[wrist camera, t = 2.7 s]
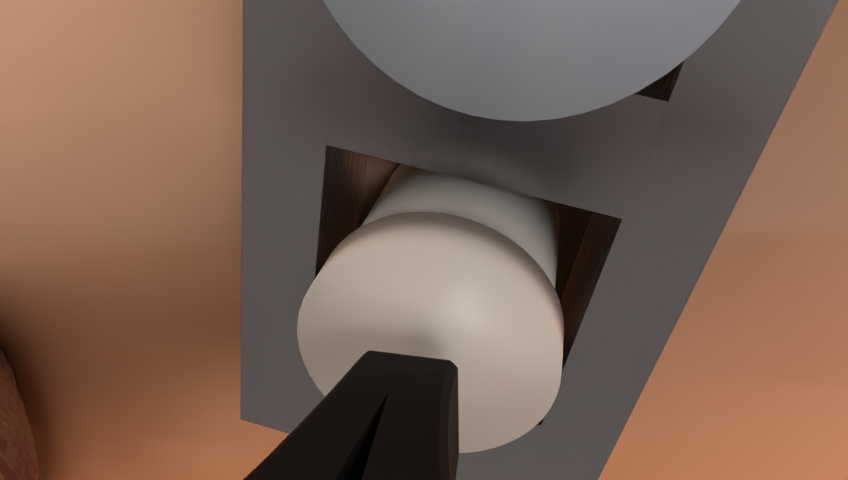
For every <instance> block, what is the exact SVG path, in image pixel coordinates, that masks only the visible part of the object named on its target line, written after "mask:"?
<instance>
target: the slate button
mask: <svg viewBox="0 0 848 480" xmlns="http://www.w3.org/2000/svg"><path fill="white" fill-rule="evenodd" d="M323 1H324V3H325V5H326V6H327V8H328V9H329V11H330V13H331V14H332V16H333V17H334V19H335V21H336V22H337V23H338V25H339V26H340V27H341V28H342V30H343V31H344V32H345V33H346V35H347V36H348V37H349V38H350V40H351V41H352V42H353V43H354V45H355V46H356V47H357V48H358V49H359V50H360V51H361V52H362V53H363V54H364V55H365V56H366V57H367V58H368V59H369V60H370V61H371V62H372V63H373V64H374V65H376V66H377V67H378V68H379V69H381V70H382V71H383V72H385V73H386V74H387V75H388V76H390V77H391V78H392V79H393V80H395V81H396V82H398V83H399V84H401V85H402V86H404V87H406V88H407V89H409V90H411V91H412V92H414V93H416V94H417V95H419V96H421V97H423V98H425V99H428V100H430V101H432V102H434V103H436V104H439V105H441V106H443V107H446V108H449V109H452V110H455V111H459V112H462V113H465V114H468V115H472V116H478V117H483V118H489V119H495V120H508V121H537V120H551V119H558V118H563V117H568V116H573V115H578V114H582V113H586V112H589V111H592V110H595V109H598V108H601V107H604V106H607V105H610V104H612V103H614V102H617V101H619V100H621V99H623V98H625V97H627V96H629V95H632V94H634V93H636V92H638V91H640V90H641V89H643V88H645V87H646V86H648V85H650V84H651V83H653V82H655V81H656V80H658V79H659V78H661V77H663V76H664V75H666V74H667V73H668V72H670V71H671V70H672V69H674V68H675V67H676V66H677V65H679V64H680V63H681V62H683V61H684V60H685V59H686V58H688V57H689V56H690V55H691V54H693V53H694V52H695V51H696V50H697V49H698V48H699V47H700V46H701V45H702V44H703V43H704V42H705V41H706V40H707V39H708V38H709V37H710V36H711V35H712V34H713V33H714V32H715V31H716V30H717V29H718V28H719V27H720V25H721V24H722V23H723V22H724V21H725V19H726V18H727V17H728V16H729V14H730V13H731V12H732V11H733V9H734V8H735V7H736V6H737V5H738V3H739V2H740V1H741V0H323Z"/></svg>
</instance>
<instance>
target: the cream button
mask: <svg viewBox="0 0 848 480" xmlns="http://www.w3.org/2000/svg"><path fill="white" fill-rule="evenodd" d="M559 234H560V216H559V211H558V206H557V203H556V202H553V201H549V200H545V199H541V198H537V197H533V196H529V195H525V194H521V193H517V192H513V191H509V190H505V189H501V188H497V187H493V186H489V185H485V184H481V183H477V182H473V181H469V180H465V179H461V178H457V177H453V176H449V175H445V174H441V173H437V172H433V171H429V170H425V169H421V168H417V167H413V166H409V165H405V164H400V165H399V166H398V167H397V169H396V170H395V171H394V172H393V174H392V175H391V177H390V179H389V180H388V182H387V184H386V185H385V187H384V189H383V190H382V192H381V194H380V195H379V197H378V199H377V200H376V202H375V204H374V205H373V207H372V209H371V210H370V212H369V214H368V215H367V217H366V219H365V220H364V222H363V224H362V225H361V227H360V228H358V229H357V230H355V231H353V232H352V233H350V234H349V235H348V236H347V237H346V238H345V239H344V240H342V241H341V242H340V243H339V244H338V246H337V247H336V248H335V249H334V251H333V252H332V253H331V254H330V256H329V258H328V259H327V261H326V262H325V264H324V265H323V267H322V269H321V270H320V272H319V273H318V275H317V277H316V278H315V280H314V281H313V283H312V284H311V286H310V288H309V289H308V291H307V293H306V295H305V297H304V298H303V301H302V304H301V307H300V310H299V315H298V322H297V338H298V344H299V349H300V353H301V356H302V359H303V362H304V364H305V366H306V368H307V371H308V373H309V375H310V376H311V378H312V379H313V381H314V383H315V384H316V386H317V387H318V388H319V390H320V391H321V392H322V393H323V395H324V396H326V395H327V394H328V393H329V392H330V391H331V390H332V389H333V388H334V387H335V385H336V384H337V383H338V382H339V381H340V380H341V379H342V378H343V376H344V375H345V374H346V373H347V372H348V371H349V370H350V369H351V367H352V366H353V365H354V364H355V363H356V362H357V361H358V360H359V358H360V357H361V356H362V355H363V354H365V353H366V352H367V351H369V350H371V351H379V352H388V353H396V354H404V355H412V356H420V357H428V358H436V359H444V360H451V361H452V362H453V363H454V364H455V365H456V366H457V367H458V413H459V453H470V452H477V451H483V450H488V449H492V448H496V447H499V446H501V445H504V444H507V443H509V442H511V441H513V440H515V439H517V438H519V437H521V436H523V435H524V434H525V433H527V432H528V431H530V430H531V429H532V428H534V427H535V426H536V425H537V424H538V423H539V422H540V421H541V420H542V419H543V418H544V416H545V415H546V414H547V412H548V411H549V410H550V408H551V406H552V404H553V402H554V401H555V399H556V397H557V393H558V390H559V387H560V383H561V374H562V359H563V341H564V320H563V313H562V308H561V304H560V301H559V298H558V296H557V293H556V291H555V285H556V272H557V260H558V247H559Z"/></svg>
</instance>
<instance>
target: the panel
mask: <svg viewBox="0 0 848 480" xmlns="http://www.w3.org/2000/svg"><path fill="white" fill-rule="evenodd" d="M837 1H838V0H741V1H740V2H739V3H738V5H737V6H736V7H735V8H734V9H733V11H732V12H731V13H730V14H729V16H728V17H727V18H726V19H725V21H724V22H723V23H722V24H721V25H720V27H719V28H718V29H717V30H716V31H715V32H714V33H713V34H712V35H711V36H710V37H709V38H708V39H707V40H706V41H705V42H704V43H703V44H702V45H701V46H700V47H699V48H698V49H697V50H696V51H695V52H694V53H693V54H691V55H690V56H689V57H688V58H686V59H685V60H684V61H683V62H681V63H680V64H679V65H677V66H676V67H675V68H674V69H672V70H671V71H670V72H668V73H667V74H666V75H664V76H663V77H661V78H659V79H658V80H656V81H655V82H653V83H651V84H650V85H648V86H646V87H645V88H643V89H641V90H640V91H638V92H636V93H634V94H632V95H629V96H627V97H625V98H623V99H621V100H619V101H617V102H614V103H612V104H610V105H607V106H604V107H601V108H598V109H595V110H592V111H589V112H586V113H582V114H578V115H573V116H568V117H563V118H558V119H551V120H537V121H508V120H495V119H489V118H483V117H478V116H472V115H468V114H465V113H462V112H459V111H455V110H452V109H449V108H446V107H443V106H441V105H439V104H436V103H434V102H432V101H430V100H428V99H425V98H423V97H421V96H419V95H417V94H416V93H414V92H412V91H411V90H409V89H407V88H406V87H404V86H402V85H401V84H399V83H398V82H396V81H395V80H393V79H392V78H391V77H390V76H388V75H387V74H386V73H385V72H383V71H382V70H381V69H379V68H378V67H377V66H376V65H374V64H373V63H372V62H371V61H370V60H369V59H368V58H367V57H366V56H365V55H364V54H363V53H362V52H361V51H360V50H359V49H358V48H357V47H356V46H355V45H354V43H353V42H352V41H351V40H350V38H349V37H348V36H347V35H346V33H345V32H344V31H343V30H342V28H341V27H340V26H339V25H338V23H337V22H336V21H335V19H334V17H333V16H332V14H331V13H330V11H329V9H328V8H327V6H326V5H325V3H324V1H323V0H243V118H242V269H241V419H242V420H245V421H249V422H252V423H256V424H259V425H262V426H266V427H269V428H272V429H276V430H279V431H283V432H286V433H289V434H290V433H291V432H292V431H293V430H294V429H295V428H296V427H297V426H298V425H299V424H300V423H301V422H302V421H303V420H304V419H305V418H306V417H307V416H308V415H309V414H310V413H311V411H312V410H313V409H314V408H315V407H316V406H317V405H318V404H319V403H320V402H321V401H322V400H323V399H324V398H325V396H324V395H323V393H322V392H321V391H320V390H319V388H318V387H317V386H316V384H315V383H314V381H313V379H312V378H311V376H310V375H309V373H308V371H307V368H306V366H305V364H304V362H303V359H302V356H301V353H300V349H299V344H298V338H297V322H298V315H299V310H300V307H301V304H302V301H303V298H304V297H305V295H306V293H307V291H308V289H309V288H310V286H311V284H312V283H313V281H314V280H315V278H316V277H317V275H318V273H319V272H320V270H321V269H322V267H323V265H324V264H325V262H326V261H327V259H328V258H329V256H330V254H331V253H332V252H333V251H334V249H335V248H336V247H337V246H338V244H339V243H340V242H341V241H342V240H344V239H345V238H346V237H347V236H348V235H349V234H350V233H352V232H353V231H355V230H357V229H358V227H359V219H360V211H361V203H362V195H363V187H364V179H365V171H366V163H367V155H369V156H373V157H377V158H381V159H385V160H389V161H393V162H397V163H401V164H405V165H409V166H413V167H417V168H421V169H425V170H429V171H433V172H437V173H441V174H445V175H449V176H453V177H457V178H461V179H465V180H469V181H473V182H477V183H481V184H485V185H489V186H493V187H497V188H501V189H505V190H509V191H513V192H517V193H521V194H525V195H529V196H533V197H537V198H541V199H545V200H549V201H553V202H556V203H560V204H564V205H568V206H572V207H576V208H580V209H584V210H588V211H592V214H591V217H590V220H589V223H588V225H587V228H586V231H585V234H584V236H583V239H582V242H581V245H580V248H579V250H578V253H577V256H576V259H575V261H574V264H573V267H572V270H571V273H570V275H569V278H568V281H567V284H566V286H565V289H564V292H563V295H562V298H561V300H560V304H561V308H562V313H563V320H564V341H563V359H562V374H561V383H560V387H559V390H558V393H557V397H556V399H555V401H554V402H553V404H552V406H551V408H550V410H549V411H548V412H547V414H546V415H545V416H544V418H543V419H542V420H541V421H540V422H539V423H538V424H537V425H536V426H535V427H534V428H532V429H531V430H530V431H528V432H527V433H525V434H524V435H523V436H521V437H519V438H517V439H515V440H513V441H511V442H509V443H507V444H504V445H501V446H499V447H496V448H492V449H488V450H483V451H477V452H470V453H459V458H458V465H457V472H456V480H598V478H599V476H600V474H601V472H602V470H603V468H604V466H605V464H606V462H607V460H608V458H609V456H610V454H611V452H612V450H613V448H614V446H615V444H616V442H617V440H618V438H619V436H620V434H621V432H622V430H623V428H624V426H625V424H626V422H627V420H628V418H629V416H630V414H631V412H632V410H633V408H634V406H635V404H636V402H637V400H638V398H639V396H640V394H641V392H642V390H643V388H644V386H645V384H646V382H647V380H648V378H649V376H650V374H651V372H652V370H653V368H654V366H655V364H656V362H657V360H658V358H659V356H660V354H661V352H662V350H663V348H664V346H665V344H666V342H667V340H668V338H669V336H670V334H671V332H672V330H673V328H674V326H675V324H676V323H677V321H678V319H679V317H680V315H681V313H682V311H683V309H684V307H685V305H686V303H687V301H688V299H689V297H690V295H691V293H692V291H693V289H694V287H695V285H696V283H697V281H698V279H699V277H700V275H701V273H702V271H703V269H704V267H705V265H706V263H707V261H708V259H709V257H710V255H711V253H712V251H713V249H714V247H715V245H716V243H717V241H718V239H719V237H720V235H721V233H722V231H723V229H724V227H725V225H726V223H727V221H728V219H729V217H730V215H731V213H732V211H733V209H734V207H735V205H736V203H737V201H738V199H739V197H740V195H741V193H742V191H743V189H744V187H745V185H746V183H747V181H748V179H749V177H750V175H751V173H752V171H753V169H754V167H755V165H756V163H757V161H758V159H759V157H760V155H761V153H762V151H763V149H764V147H765V145H766V143H767V141H768V139H769V137H770V135H771V133H772V131H773V129H774V127H775V125H776V123H777V121H778V119H779V117H780V115H781V113H782V111H783V109H784V107H785V105H786V103H787V101H788V99H789V97H790V95H791V93H792V91H793V89H794V87H795V85H796V83H797V81H798V79H799V77H800V75H801V73H802V71H803V69H804V67H805V65H806V63H807V61H808V59H809V57H810V55H811V53H812V51H813V49H814V47H815V45H816V43H817V41H818V39H819V37H820V35H821V33H822V31H823V29H824V27H825V25H826V23H827V21H828V19H829V17H830V15H831V13H832V11H833V9H834V7H835V5H836V3H837Z"/></svg>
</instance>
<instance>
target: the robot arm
mask: <svg viewBox="0 0 848 480" xmlns="http://www.w3.org/2000/svg"><path fill="white" fill-rule="evenodd" d="M458 458H459V413H458V367H457V366H456V365H455V364H454V363H453V362H452V361H451V360H444V359H436V358H428V357H420V356H412V355H404V354H396V353H388V352H379V351H371V350H369V351H367V352H366V353H365V354H363V355H362V356H361V357H360V358H359V360H358V361H357V362H356V363H355V364H354V365H353V366H352V367H351V369H350V370H349V371H348V372H347V373H346V374H345V375H344V376H343V378H342V379H341V380H340V381H339V382H338V383H337V384H336V385H335V387H334V388H333V389H332V390H331V391H330V392H329V393H328V394H327V395H326V396H325V398H324V399H323V400H322V401H321V402H320V403H319V404H318V405H317V406H316V407H315V408H314V409H313V410H312V411H311V413H310V414H309V415H308V416H307V417H306V418H305V419H304V420H303V421H302V422H301V423H300V424H299V425H298V426H297V427H296V428H295V429H294V430H293V431H292V432H291V433H290V434H289V435H288V436H287V437H286V438H285V439H284V440H283V441H282V442H281V443H280V444H279V445H278V446H277V447H276V448H275V449H274V451H273V452H272V453H271V454H270V455H269V456H268V457H267V458H266V459H264V460H263V461H262V462H261V463H260V464H259V465H258V466H257V467H256V468H255V469H254V470H253V471H252V472H251V473H250V474H249V475H248V476H247V477H245V478H244V479H243V480H456V472H457V465H458Z"/></svg>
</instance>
